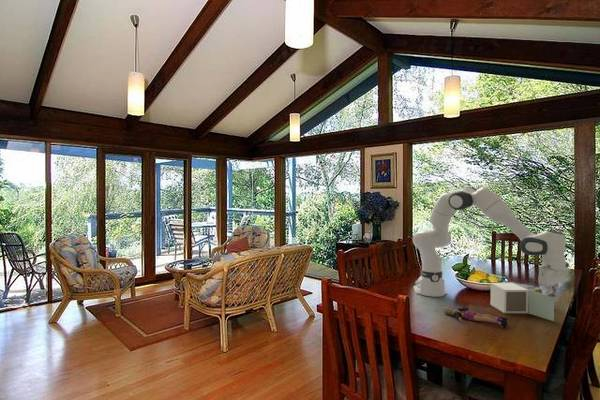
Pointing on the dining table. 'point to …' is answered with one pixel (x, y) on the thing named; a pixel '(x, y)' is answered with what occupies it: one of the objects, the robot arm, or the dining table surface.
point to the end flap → (541, 304)
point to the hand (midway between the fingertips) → (552, 292)
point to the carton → (509, 298)
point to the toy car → (528, 287)
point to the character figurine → (474, 316)
